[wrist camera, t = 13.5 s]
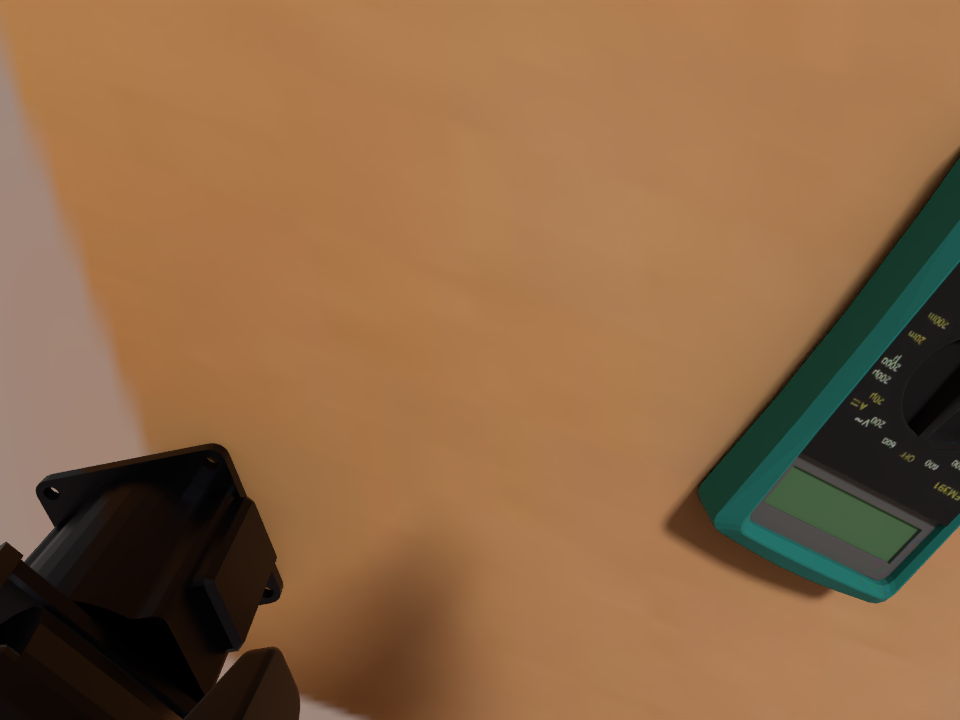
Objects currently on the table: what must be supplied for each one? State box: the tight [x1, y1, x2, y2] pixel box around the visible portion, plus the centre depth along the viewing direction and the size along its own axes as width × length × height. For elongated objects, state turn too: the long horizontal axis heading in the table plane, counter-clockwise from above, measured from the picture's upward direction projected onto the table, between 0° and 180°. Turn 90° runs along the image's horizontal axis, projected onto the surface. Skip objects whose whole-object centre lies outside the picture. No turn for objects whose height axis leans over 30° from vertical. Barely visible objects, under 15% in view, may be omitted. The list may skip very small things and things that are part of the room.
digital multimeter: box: [698, 158, 960, 603], centre depth 21 cm, size 7×15×3 cm, turn 152°
